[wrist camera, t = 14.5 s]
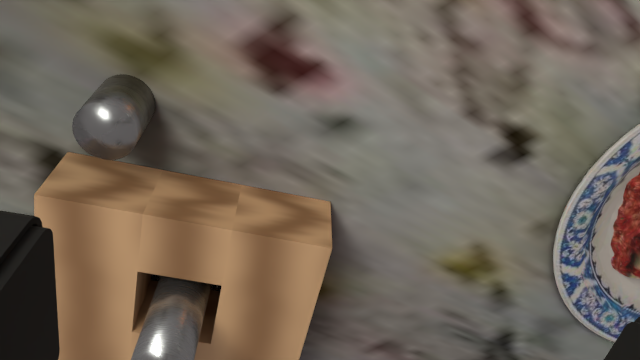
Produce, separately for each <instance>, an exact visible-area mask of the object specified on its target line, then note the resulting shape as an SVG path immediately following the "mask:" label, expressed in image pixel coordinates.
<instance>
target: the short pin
mask: <svg viewBox="0 0 640 360" xmlns="http://www.w3.org/2000/svg"><path fill="white" fill-rule="evenodd" d="M154 111H155V98H154V95H153V93H152V91H151V90H150V88H149V87H148V86H147V85H146V84H145V83H144V82H143V81H141V80H140V79H138V78H136V77H133V76H130V75H115V76H112V77H110V78H108V79H106V80H105V81H104V82H103V83H102V84H101V86H100V87H99V88H98V89H97V90H96V91H95V92H94V94H93V95H92V96H91V97H90V98H89V99H88V100H87V102H86V103H85V104H84V105H83V106H82V107H81V109H80V110H79V111H78V112H77V113H76V115H75V117H74V119H73V125H72V127H73V134H74V136H75V139H76V141H77V142H78V144H79V145H80V146H81V147H82V148H83V149H84V150H85V151H86V152H88V153H89V154H91V155H93V156H95V157H97V158H100V159H105V160H116V159H120V158H123V157H125V156H127V155H128V154H129V153H130V152H131V151H132V150H133V149H134V147H135V145H136V143H137V142H138V140H139V138H140V137H141V135H142V133H143V131H144V130H145V128H146V126H147V125H148V123H149V121H150V120H151V118H152V116H153V114H154Z"/></svg>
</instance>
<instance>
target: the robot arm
mask: <svg viewBox="0 0 640 360" xmlns="http://www.w3.org/2000/svg"><path fill="white" fill-rule="evenodd" d="M59 351H60V347H59V330H58V312H57V295H56V278H55V260H54V243H53V232H52V230H51V229H49V228H44V227H43V226H42V222H41V220H40V218H39V217H36V216H30V215H24V214H18V213H11V212H5V211H0V360H58V359H59ZM604 360H640V317H638V318H637V319H636V320H635V321H634V322H630V323H628V324H627V325H626V326H625V327H624V329H623V330H622V332H621V334H620V335H619V337H618V338H617V340H616V342H615V343H614V345H613V346H612V348H611V350H610V351H609V353H608V354H607V356H606V357H605V359H604Z"/></svg>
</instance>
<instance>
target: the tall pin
mask: <svg viewBox="0 0 640 360" xmlns="http://www.w3.org/2000/svg"><path fill="white" fill-rule="evenodd" d="M211 285H212V284H209V283H203V282H197V281H191V280H185V279H179V278H173V277H167V276H160V279H159V282H158V284H157V287H156V290H155V293H154V296H153V298H152V301H151V304H150V307H149V310H148V313H147V315H146V318H145V321H144V324H143V327H142V329H141V332H140V335H139V338H138V341H137V344H136V346H135V349H134V352H133V355H132V358H131V360H194V358H195V354H196V350H197V345H198V341H199V337H200V332H201V328H202V324H203V319H204V315H205V311H206V307H207V302H208V298H209V294H210V289H211Z"/></svg>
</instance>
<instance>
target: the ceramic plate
mask: <svg viewBox="0 0 640 360" xmlns="http://www.w3.org/2000/svg"><path fill="white" fill-rule="evenodd" d="M553 269H554V275H555V280H556V284H557V287H558V290H559V293H560V295H561V297H562V299H563V301H564V303H565V304H566V306H567V307H568V309H569V310H570V312H571V313H572V314H573V315H574V316H575V317H576V318H577V319H578V320H579V321H580V322H581V323H582V324H583V325H584V326H586V327H587V328H588V329H590V330H591V331H593V332H594V333H596V334H598V335H600V336H602V337H603V338H605V339H607V340H610V341H613V342H616V340H617V338H618V337H619V335H620V334H621V332H622V330H623V329H624V327H625V326H626V325H627V324H628V323H630V322H634V321H635V320H636V319H637V318H638V317H640V124H639V125H637V126H636V127H635V128H633V129H632V130H631V131H629V132H628V133H627V134H625V135H624V136H623V137H622V138H620V139H619V140H618V141H617V142H616V143H615V144H614V145H613V146H612V147H610V148H609V149H608V150H607V151H606V152H605V153H604V154H603V156H602V157H601V158H600V159H599V160H598V161H597V162H596V163H595V164H594V165H593V166H592V167H591V168H590V169H589V171H588V172H587V174H586V175H585V176H584V178H583V179H582V181H581V182H580V184H579V185H578V186H577V188H576V189H575V191H574V192H573V194H572V196H571V198H570V200H569V201H568V203H567V205H566V207H565V210H564V212H563V214H562V216H561V219H560V222H559V225H558V228H557V232H556V237H555V242H554V248H553Z"/></svg>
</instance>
